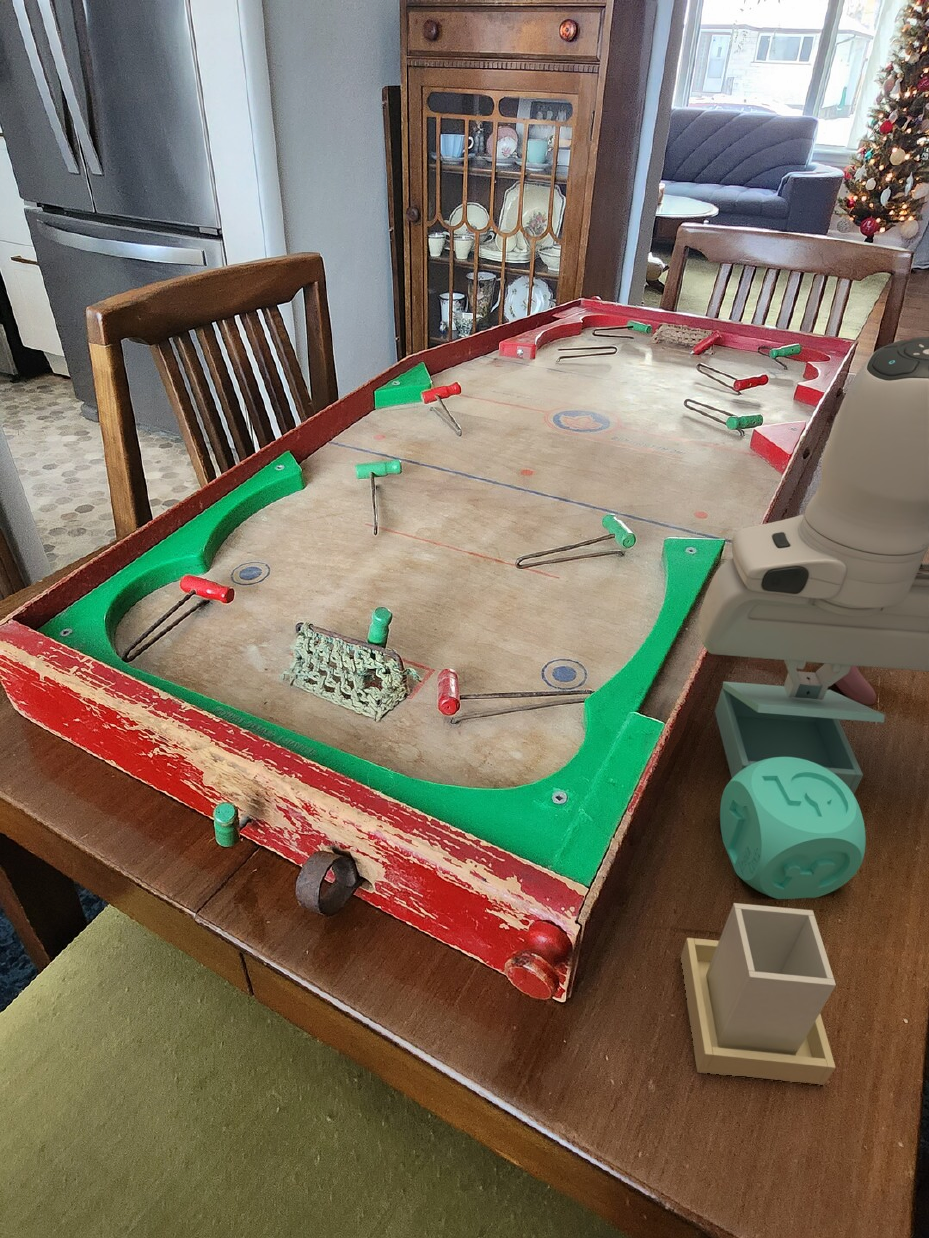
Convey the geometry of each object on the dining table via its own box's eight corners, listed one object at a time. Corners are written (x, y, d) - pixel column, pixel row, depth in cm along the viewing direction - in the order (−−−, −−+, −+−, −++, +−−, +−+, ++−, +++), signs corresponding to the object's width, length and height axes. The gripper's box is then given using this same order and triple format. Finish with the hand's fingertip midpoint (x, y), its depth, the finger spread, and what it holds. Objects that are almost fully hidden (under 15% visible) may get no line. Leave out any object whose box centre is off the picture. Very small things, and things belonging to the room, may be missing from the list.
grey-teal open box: (850, 803, 69) (863, 775, 67) (733, 793, 69) (742, 764, 67) (817, 723, 77) (828, 696, 75) (713, 715, 78) (721, 687, 76)
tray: (792, 967, 56) (802, 948, 55) (824, 1086, 50) (836, 1067, 48) (680, 956, 56) (686, 937, 55) (696, 1072, 50) (705, 1053, 49)
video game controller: (836, 659, 88) (824, 606, 86) (882, 655, 86) (870, 601, 83) (828, 712, 81) (814, 655, 78) (877, 709, 78) (864, 651, 76)
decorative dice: (711, 822, 67) (733, 756, 62) (801, 818, 67) (829, 753, 63) (745, 904, 60) (772, 837, 55) (845, 900, 61) (880, 833, 56)
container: (777, 981, 55) (813, 910, 50) (796, 1055, 51) (836, 985, 46) (705, 974, 55) (733, 902, 50) (718, 1047, 51) (749, 976, 46)
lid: (884, 722, 64) (885, 714, 64) (757, 712, 64) (758, 704, 64) (829, 696, 75) (830, 689, 75) (722, 688, 75) (722, 681, 75)
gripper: (974, 548, 62) (911, 680, 70) (714, 529, 63) (681, 661, 71) (1012, 591, 57) (939, 729, 65) (728, 570, 58) (691, 708, 66)
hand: (802, 693), depth 68 cm, fingers closed
